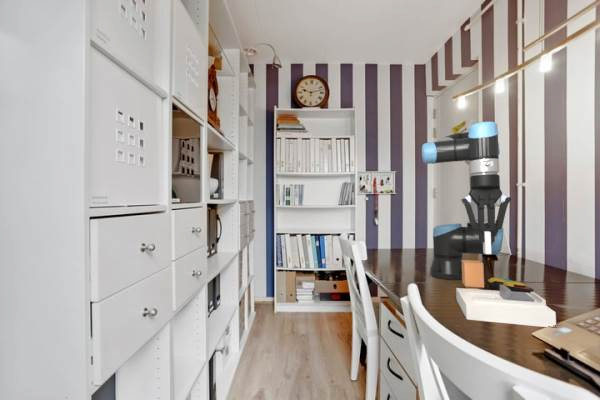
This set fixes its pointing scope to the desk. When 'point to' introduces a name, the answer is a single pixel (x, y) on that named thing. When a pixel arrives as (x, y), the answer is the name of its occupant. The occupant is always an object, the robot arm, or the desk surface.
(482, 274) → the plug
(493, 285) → the gadget
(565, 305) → the desk surface
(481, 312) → the socket
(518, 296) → the shutter
